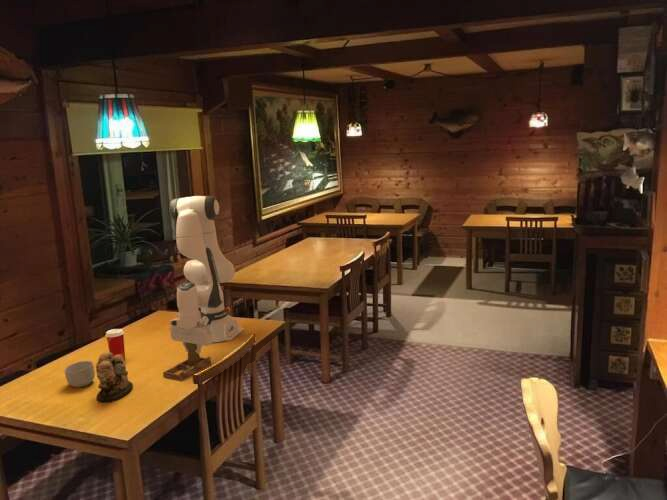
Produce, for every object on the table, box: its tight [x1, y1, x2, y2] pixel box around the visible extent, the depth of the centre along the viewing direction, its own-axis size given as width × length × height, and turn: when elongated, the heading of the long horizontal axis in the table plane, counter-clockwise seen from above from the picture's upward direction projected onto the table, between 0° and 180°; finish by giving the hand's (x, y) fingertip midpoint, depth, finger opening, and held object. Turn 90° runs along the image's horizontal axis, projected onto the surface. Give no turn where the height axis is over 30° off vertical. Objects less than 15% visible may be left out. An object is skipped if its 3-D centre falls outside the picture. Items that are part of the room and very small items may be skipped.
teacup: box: [63, 359, 96, 388], centre depth 227 cm, size 14×11×8 cm
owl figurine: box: [95, 351, 134, 403], centre depth 215 cm, size 18×12×17 cm, turn 177°
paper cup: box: [105, 328, 126, 362], centre depth 247 cm, size 8×8×14 cm
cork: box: [186, 343, 201, 366], centre depth 238 cm, size 6×6×11 cm
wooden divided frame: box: [162, 356, 212, 382], centre depth 235 cm, size 18×10×4 cm, turn 152°
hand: (193, 352), depth 238 cm, fingers open, 4 cm apart
